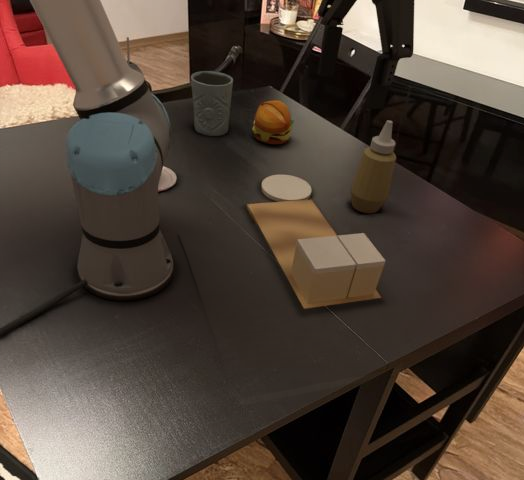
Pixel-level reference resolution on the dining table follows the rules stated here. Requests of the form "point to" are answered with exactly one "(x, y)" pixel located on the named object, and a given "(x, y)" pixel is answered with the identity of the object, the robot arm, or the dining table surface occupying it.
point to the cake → (322, 269)
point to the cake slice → (363, 264)
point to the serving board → (294, 236)
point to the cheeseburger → (272, 123)
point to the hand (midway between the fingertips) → (348, 90)
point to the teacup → (166, 179)
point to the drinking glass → (211, 102)
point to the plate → (285, 188)
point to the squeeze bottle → (374, 173)
